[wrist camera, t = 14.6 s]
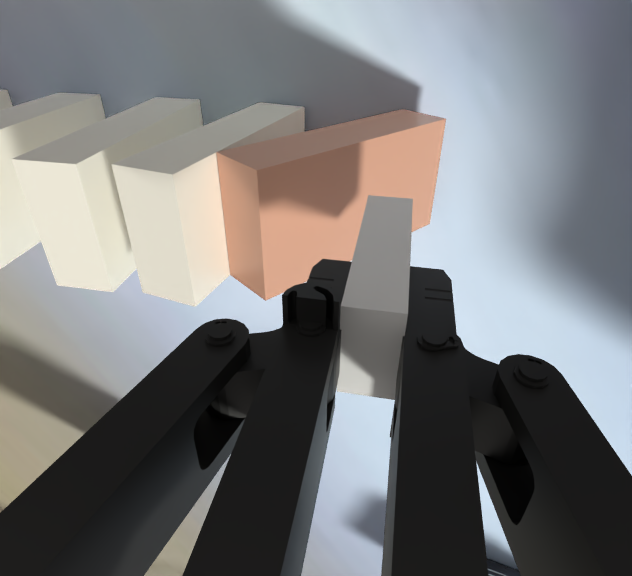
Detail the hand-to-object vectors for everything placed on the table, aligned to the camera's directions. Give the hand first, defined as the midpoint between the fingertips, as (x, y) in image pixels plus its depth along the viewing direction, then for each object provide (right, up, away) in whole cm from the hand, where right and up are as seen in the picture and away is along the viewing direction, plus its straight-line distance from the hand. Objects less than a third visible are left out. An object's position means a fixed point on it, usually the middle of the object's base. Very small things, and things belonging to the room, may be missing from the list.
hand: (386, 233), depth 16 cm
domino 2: (-9, +6, +8) cm, 14 cm away
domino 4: (+2, +4, +6) cm, 7 cm away
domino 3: (-4, +5, +7) cm, 10 cm away
